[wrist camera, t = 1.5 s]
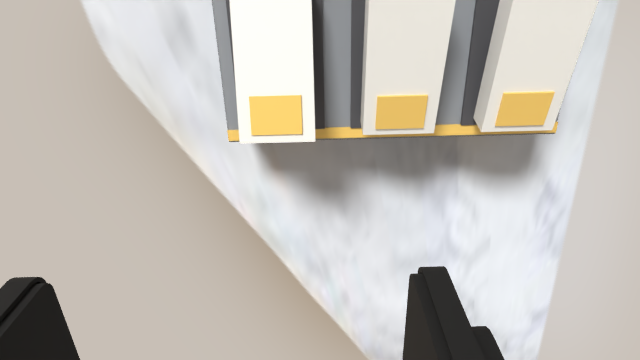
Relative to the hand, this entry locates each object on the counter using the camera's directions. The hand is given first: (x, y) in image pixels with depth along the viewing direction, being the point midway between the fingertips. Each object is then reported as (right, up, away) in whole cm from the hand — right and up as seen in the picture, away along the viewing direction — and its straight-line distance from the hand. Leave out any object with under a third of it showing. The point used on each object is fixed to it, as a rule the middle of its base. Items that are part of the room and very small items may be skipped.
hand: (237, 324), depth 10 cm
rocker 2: (+6, +9, +11) cm, 15 cm away
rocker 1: (0, +9, +11) cm, 14 cm away
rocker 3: (+12, +9, +11) cm, 18 cm away
